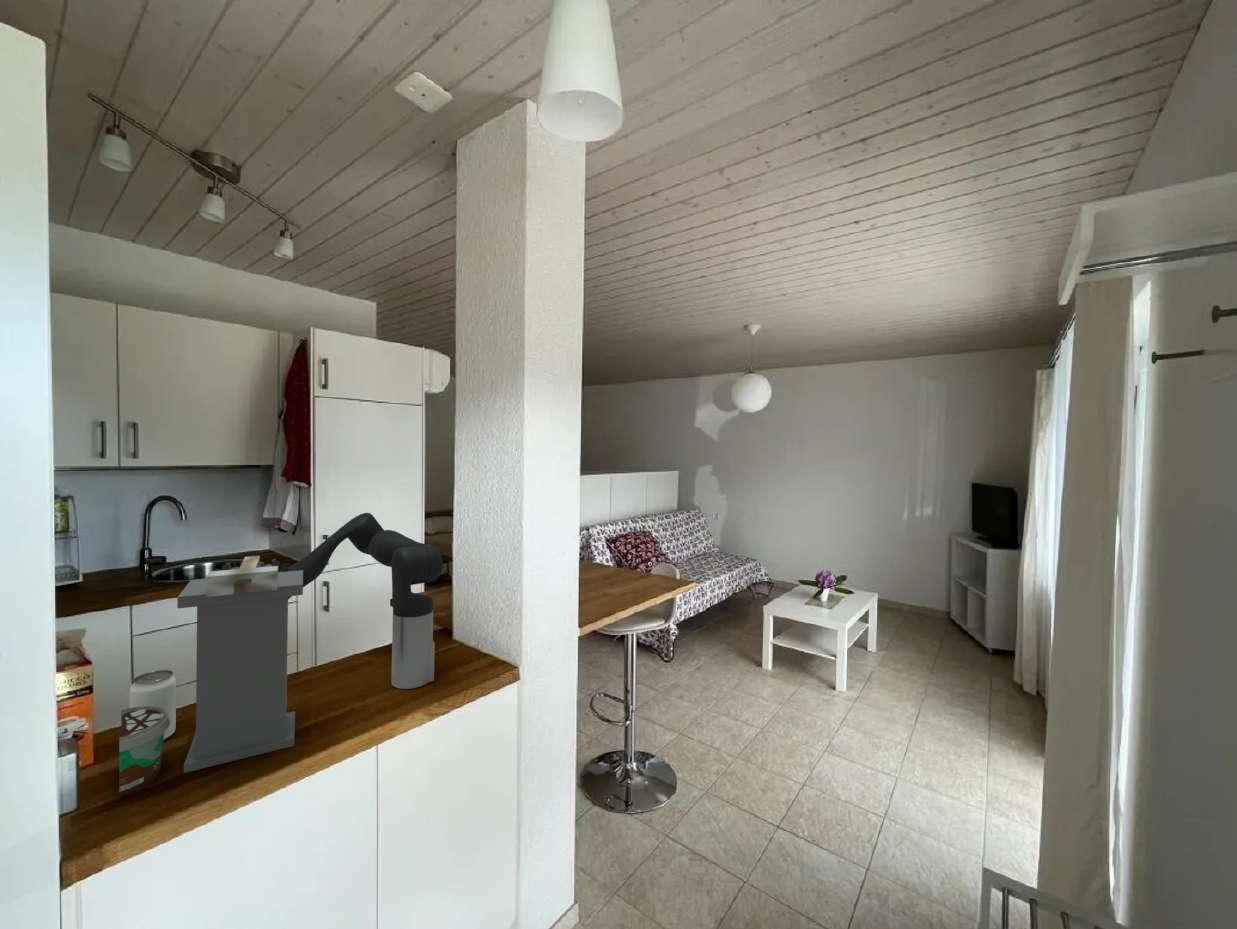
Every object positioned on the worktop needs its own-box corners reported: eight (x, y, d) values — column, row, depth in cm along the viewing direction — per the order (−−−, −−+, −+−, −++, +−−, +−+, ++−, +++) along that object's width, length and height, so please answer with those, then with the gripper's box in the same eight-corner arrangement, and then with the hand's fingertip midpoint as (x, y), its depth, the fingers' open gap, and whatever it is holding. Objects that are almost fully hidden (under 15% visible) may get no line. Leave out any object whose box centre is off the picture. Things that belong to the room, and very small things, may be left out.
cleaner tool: (281, 565, 106) (281, 549, 106) (277, 589, 90) (277, 570, 90) (222, 570, 101) (222, 553, 101) (206, 597, 84) (206, 576, 84)
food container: (171, 784, 83) (171, 725, 82) (118, 801, 78) (119, 739, 78) (168, 750, 91) (168, 697, 91) (120, 764, 87) (121, 708, 87)
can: (147, 750, 91) (147, 686, 91) (120, 744, 92) (120, 681, 92) (184, 730, 97) (184, 671, 97) (158, 726, 99) (158, 667, 98)
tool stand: (300, 714, 104) (303, 570, 104) (300, 744, 94) (302, 584, 93) (189, 739, 95) (191, 579, 94) (176, 775, 85) (177, 597, 84)
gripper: (289, 595, 128) (287, 577, 115) (219, 603, 120) (209, 584, 108) (289, 567, 131) (288, 546, 118) (221, 573, 123) (212, 552, 111)
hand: (250, 564), depth 113 cm, fingers open, 8 cm apart
